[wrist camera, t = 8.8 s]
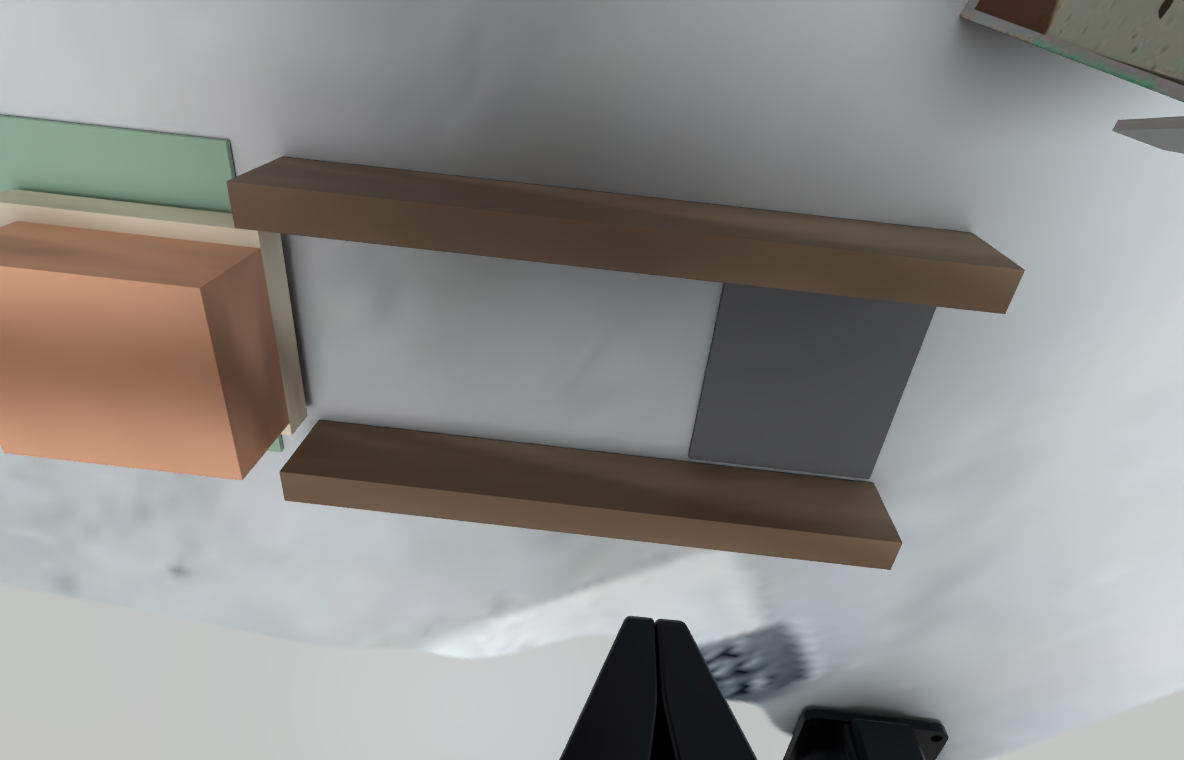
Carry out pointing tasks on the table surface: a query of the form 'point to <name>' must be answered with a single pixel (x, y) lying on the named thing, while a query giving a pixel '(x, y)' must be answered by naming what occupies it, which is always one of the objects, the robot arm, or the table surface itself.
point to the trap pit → (805, 379)
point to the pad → (116, 166)
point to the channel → (622, 243)
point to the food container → (1106, 46)
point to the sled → (143, 336)
